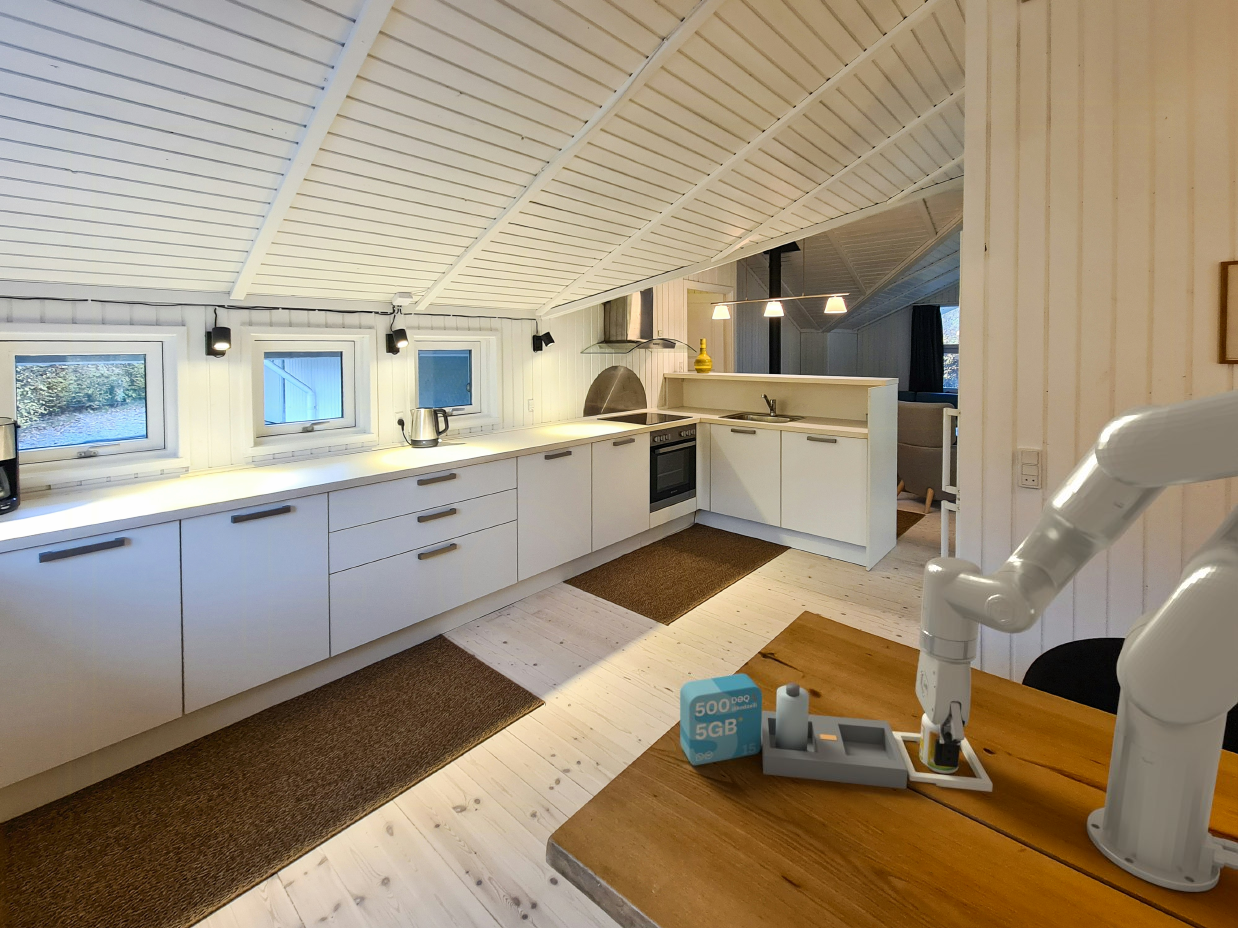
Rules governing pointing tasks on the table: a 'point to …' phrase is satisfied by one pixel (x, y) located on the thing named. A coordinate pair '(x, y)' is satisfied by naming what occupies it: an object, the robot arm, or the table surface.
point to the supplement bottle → (932, 745)
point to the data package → (720, 718)
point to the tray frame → (945, 780)
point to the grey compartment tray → (837, 752)
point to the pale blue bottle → (792, 717)
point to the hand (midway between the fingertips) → (939, 751)
